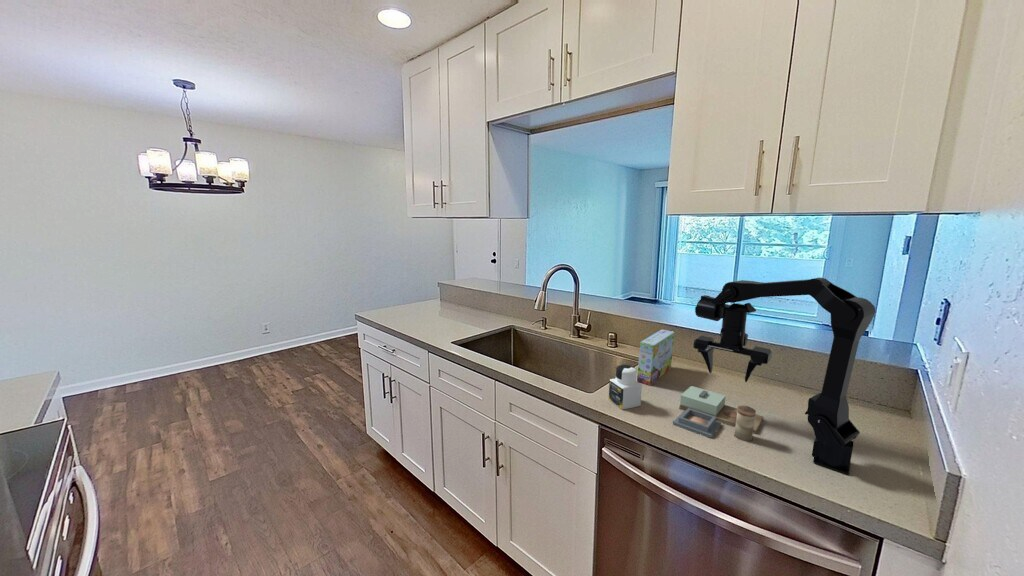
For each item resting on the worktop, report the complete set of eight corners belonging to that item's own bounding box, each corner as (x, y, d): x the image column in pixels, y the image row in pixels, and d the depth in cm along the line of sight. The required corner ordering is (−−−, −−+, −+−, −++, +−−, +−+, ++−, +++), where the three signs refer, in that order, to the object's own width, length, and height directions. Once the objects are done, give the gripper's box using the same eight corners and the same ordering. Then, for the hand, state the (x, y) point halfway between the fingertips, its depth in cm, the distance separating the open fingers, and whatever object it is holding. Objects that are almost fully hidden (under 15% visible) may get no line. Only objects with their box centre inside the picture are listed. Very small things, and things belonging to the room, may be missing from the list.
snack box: (651, 386, 131) (654, 344, 128) (636, 382, 135) (638, 341, 132) (672, 368, 147) (675, 331, 144) (657, 364, 151) (660, 328, 148)
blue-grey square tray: (721, 425, 107) (721, 417, 106) (711, 438, 100) (712, 430, 100) (684, 412, 113) (684, 405, 113) (672, 424, 107) (673, 417, 106)
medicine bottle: (608, 399, 122) (609, 364, 119) (626, 396, 124) (628, 361, 122) (621, 410, 115) (624, 372, 113) (641, 406, 117) (643, 369, 115)
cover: (724, 404, 116) (725, 393, 115) (715, 415, 109) (717, 403, 108) (690, 394, 122) (691, 383, 122) (680, 404, 116) (681, 392, 115)
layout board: (763, 419, 109) (763, 415, 109) (755, 433, 102) (755, 429, 102) (690, 397, 123) (691, 394, 123) (679, 408, 116) (679, 405, 116)
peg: (753, 436, 101) (757, 409, 99) (750, 443, 98) (753, 414, 96) (736, 431, 104) (739, 403, 102) (732, 437, 101) (735, 409, 99)
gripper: (778, 325, 106) (771, 377, 109) (707, 314, 119) (702, 361, 122) (770, 334, 98) (763, 390, 101) (695, 321, 111) (690, 371, 114)
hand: (727, 377), depth 110 cm, fingers open, 9 cm apart
